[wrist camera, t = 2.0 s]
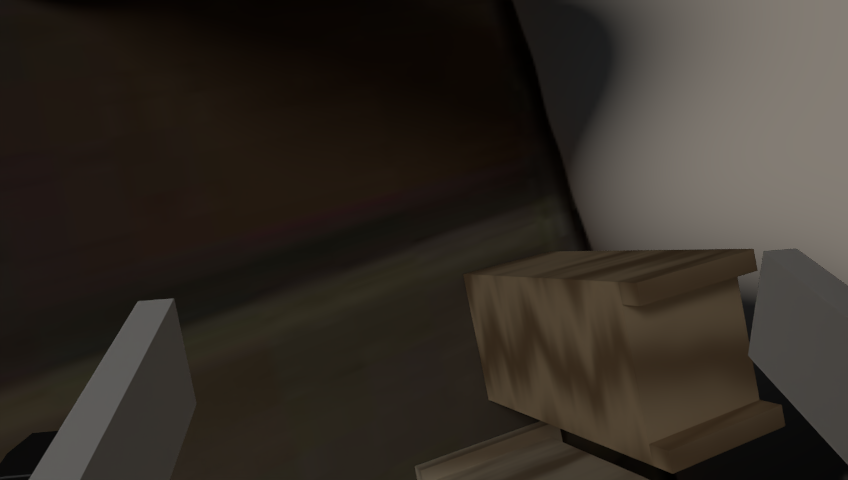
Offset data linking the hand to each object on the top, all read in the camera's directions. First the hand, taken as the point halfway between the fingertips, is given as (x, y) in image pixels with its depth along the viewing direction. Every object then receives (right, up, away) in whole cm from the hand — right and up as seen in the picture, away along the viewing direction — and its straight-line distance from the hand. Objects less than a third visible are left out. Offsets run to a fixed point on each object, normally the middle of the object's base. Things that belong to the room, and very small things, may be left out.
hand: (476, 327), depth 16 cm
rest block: (+6, -5, +41) cm, 41 cm away
